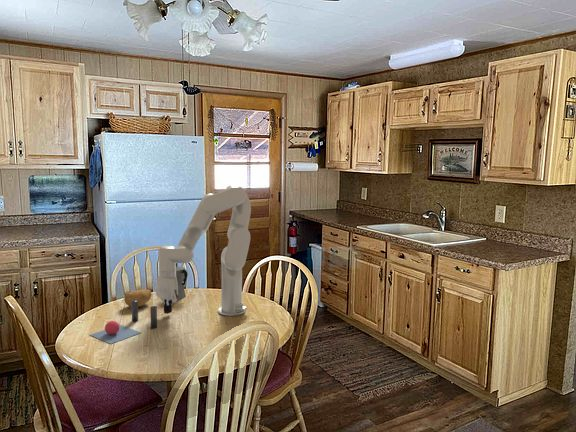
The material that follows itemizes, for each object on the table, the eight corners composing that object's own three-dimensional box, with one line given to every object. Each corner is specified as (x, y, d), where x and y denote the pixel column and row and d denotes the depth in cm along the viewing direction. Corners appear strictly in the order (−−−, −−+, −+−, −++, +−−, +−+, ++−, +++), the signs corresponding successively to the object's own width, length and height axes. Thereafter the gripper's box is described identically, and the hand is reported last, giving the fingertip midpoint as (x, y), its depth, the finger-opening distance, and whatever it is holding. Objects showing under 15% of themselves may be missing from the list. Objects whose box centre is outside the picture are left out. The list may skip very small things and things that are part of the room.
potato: (156, 304, 217) (156, 288, 216) (132, 312, 206) (132, 295, 205) (143, 300, 223) (143, 285, 222) (119, 307, 211) (119, 291, 210)
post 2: (158, 327, 189) (158, 306, 188) (153, 329, 187) (153, 308, 186) (154, 325, 190) (154, 305, 189) (149, 327, 188) (149, 307, 187)
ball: (110, 338, 177) (122, 333, 181) (109, 325, 176) (122, 321, 180) (102, 334, 180) (114, 330, 184) (101, 321, 179) (114, 317, 183)
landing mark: (141, 332, 182) (141, 332, 182) (110, 344, 171) (110, 343, 171) (120, 325, 190) (120, 324, 190) (89, 335, 179) (89, 334, 179)
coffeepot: (160, 296, 230) (160, 262, 228) (175, 292, 238) (175, 259, 235) (179, 302, 221) (179, 267, 219) (194, 298, 228) (194, 264, 226)
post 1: (139, 320, 196) (139, 300, 195) (134, 322, 194) (134, 302, 193) (135, 319, 197) (135, 299, 196) (130, 320, 195) (130, 301, 194)
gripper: (149, 272, 201) (150, 311, 204) (172, 278, 193) (172, 318, 195) (163, 269, 207) (163, 307, 210) (185, 274, 199) (185, 313, 201)
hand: (167, 312), depth 202 cm, fingers closed
